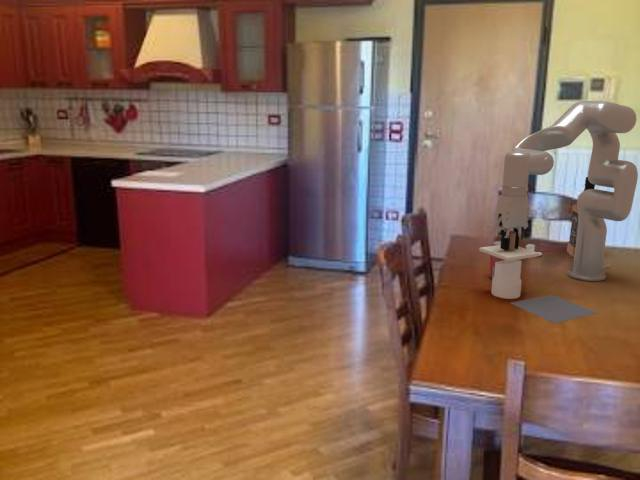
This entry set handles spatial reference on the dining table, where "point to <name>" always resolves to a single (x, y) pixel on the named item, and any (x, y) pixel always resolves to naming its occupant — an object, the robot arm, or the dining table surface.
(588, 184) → the whiskey bottle
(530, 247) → the teacup and saucer
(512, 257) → the lid
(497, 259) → the soda can
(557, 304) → the mat
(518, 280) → the cylinder with rectangular tab
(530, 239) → the dining table surface
